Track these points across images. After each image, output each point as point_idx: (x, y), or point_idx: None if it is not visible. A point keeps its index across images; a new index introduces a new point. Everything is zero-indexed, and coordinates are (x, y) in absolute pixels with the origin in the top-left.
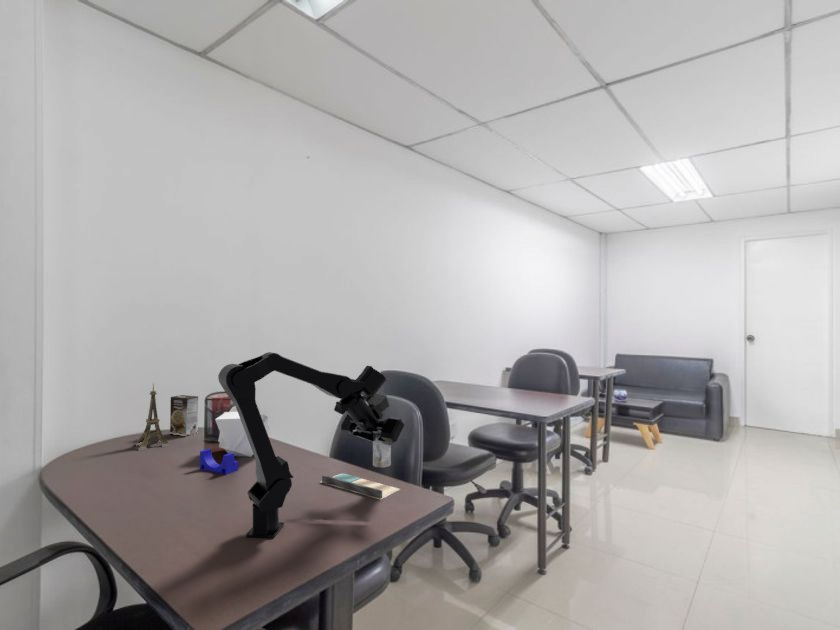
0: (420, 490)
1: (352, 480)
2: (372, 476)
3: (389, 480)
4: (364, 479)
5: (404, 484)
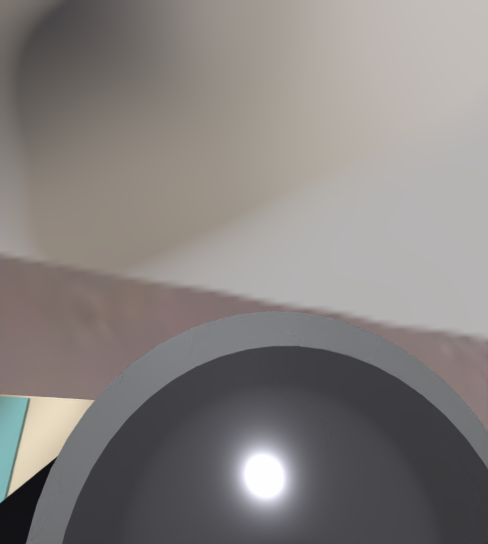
0: (412, 339)
1: (2, 467)
2: (65, 300)
3: (185, 302)
4: (62, 398)
5: (290, 310)
